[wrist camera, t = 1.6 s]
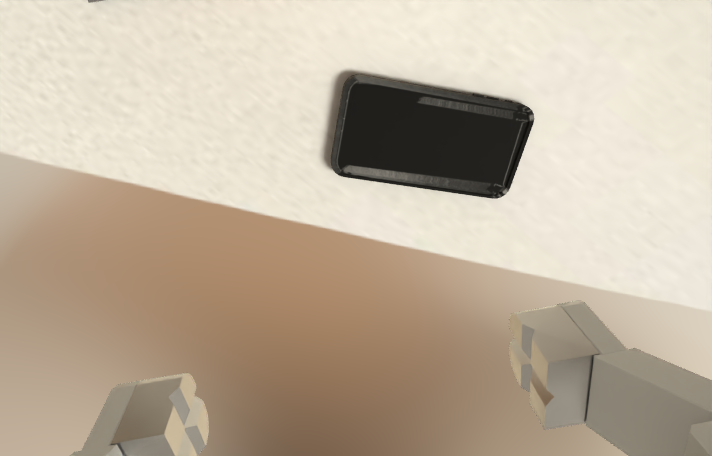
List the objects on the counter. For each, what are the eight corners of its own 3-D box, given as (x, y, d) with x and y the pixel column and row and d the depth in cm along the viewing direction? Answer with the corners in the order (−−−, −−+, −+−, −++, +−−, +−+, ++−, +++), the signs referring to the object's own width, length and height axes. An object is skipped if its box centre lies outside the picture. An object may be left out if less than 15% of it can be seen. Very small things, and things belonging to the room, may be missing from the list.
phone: (505, 200, 39) (329, 174, 36) (500, 195, 40) (328, 169, 37) (539, 107, 36) (346, 71, 33) (532, 103, 37) (345, 69, 34)
